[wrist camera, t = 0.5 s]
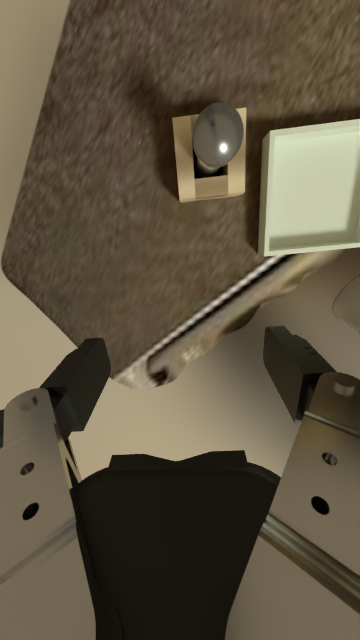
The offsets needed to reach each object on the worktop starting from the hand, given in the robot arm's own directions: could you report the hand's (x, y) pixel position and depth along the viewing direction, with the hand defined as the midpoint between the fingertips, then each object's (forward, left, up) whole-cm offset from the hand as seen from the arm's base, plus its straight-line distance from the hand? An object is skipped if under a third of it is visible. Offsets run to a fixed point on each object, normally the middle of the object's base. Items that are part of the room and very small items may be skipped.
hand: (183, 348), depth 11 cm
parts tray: (-7, +18, -26) cm, 32 cm away
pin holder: (-12, +4, -26) cm, 29 cm away
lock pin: (-12, +4, -26) cm, 29 cm away
